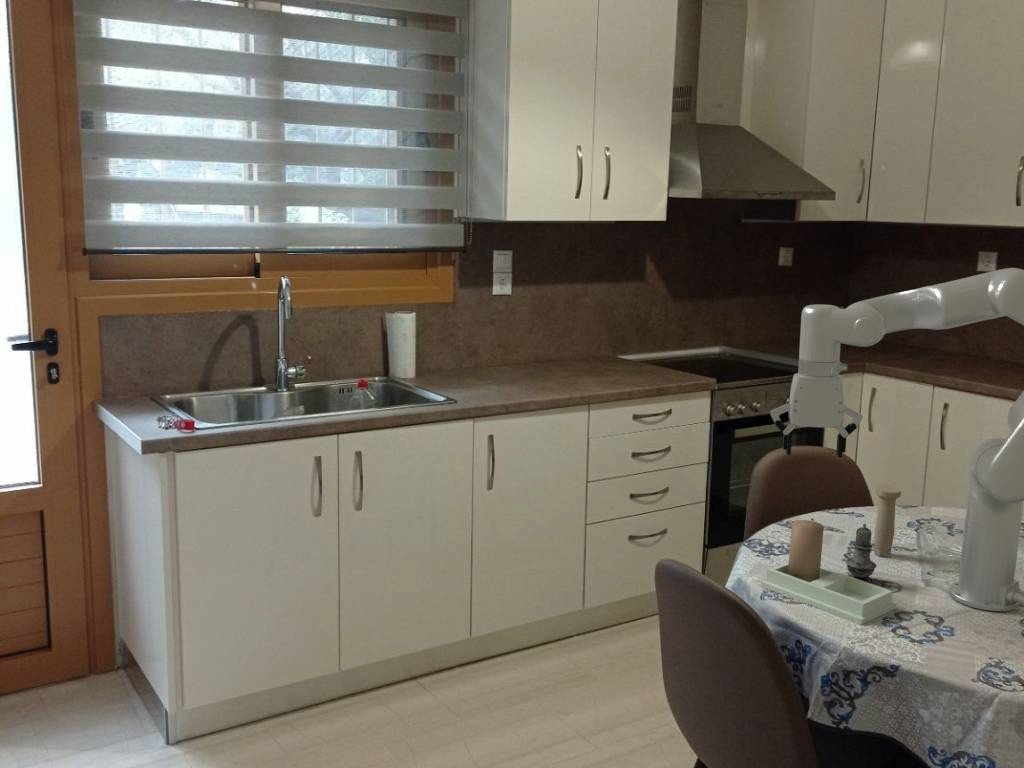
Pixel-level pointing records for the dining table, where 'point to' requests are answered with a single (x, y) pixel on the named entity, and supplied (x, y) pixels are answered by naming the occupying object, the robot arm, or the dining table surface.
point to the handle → (885, 518)
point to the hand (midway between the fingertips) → (813, 454)
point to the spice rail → (824, 580)
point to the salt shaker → (861, 556)
